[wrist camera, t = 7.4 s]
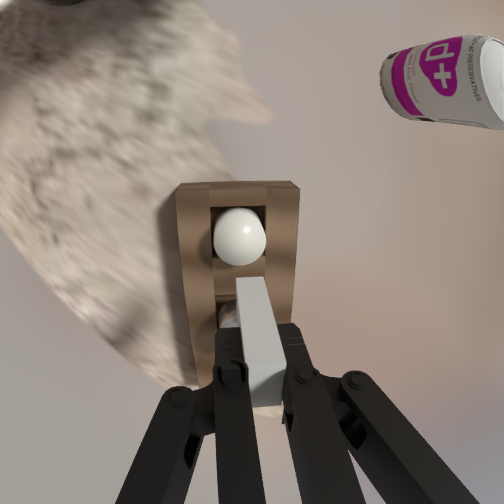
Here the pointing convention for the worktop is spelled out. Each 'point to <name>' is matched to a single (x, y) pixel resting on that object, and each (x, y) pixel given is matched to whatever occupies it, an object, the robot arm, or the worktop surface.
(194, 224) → the button panel
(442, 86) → the supplement can
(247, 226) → the white round piece
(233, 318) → the middle knob
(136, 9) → the worktop surface
